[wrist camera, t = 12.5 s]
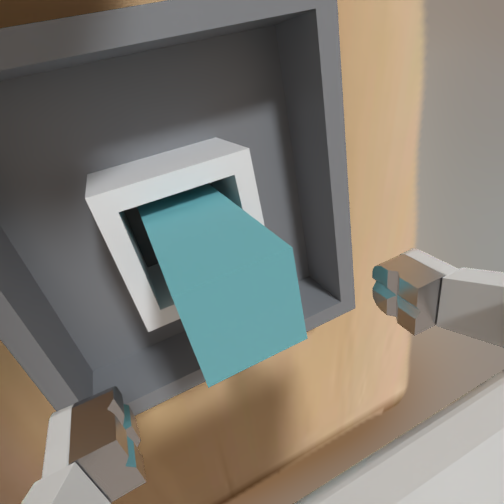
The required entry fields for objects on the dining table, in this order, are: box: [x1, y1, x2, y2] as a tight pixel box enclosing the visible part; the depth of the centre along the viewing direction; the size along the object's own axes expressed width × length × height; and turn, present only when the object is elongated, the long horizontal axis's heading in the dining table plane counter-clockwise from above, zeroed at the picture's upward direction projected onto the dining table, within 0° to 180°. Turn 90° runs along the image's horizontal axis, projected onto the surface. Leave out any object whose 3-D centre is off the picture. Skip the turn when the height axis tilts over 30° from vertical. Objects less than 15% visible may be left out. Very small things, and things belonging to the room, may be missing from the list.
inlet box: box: [0, 0, 355, 416], centre depth 19 cm, size 20×20×6 cm
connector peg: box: [137, 184, 307, 388], centre depth 16 cm, size 4×4×12 cm
